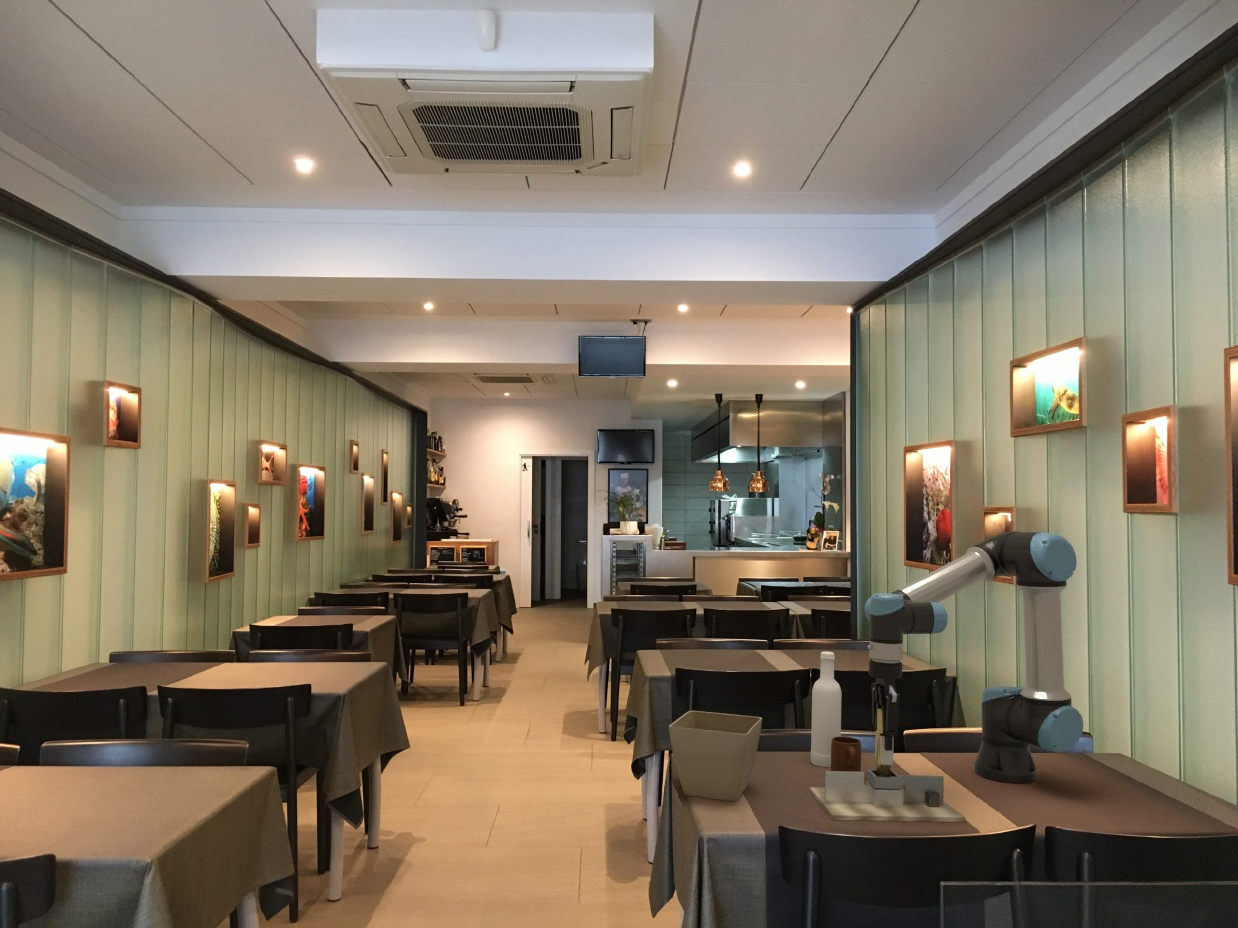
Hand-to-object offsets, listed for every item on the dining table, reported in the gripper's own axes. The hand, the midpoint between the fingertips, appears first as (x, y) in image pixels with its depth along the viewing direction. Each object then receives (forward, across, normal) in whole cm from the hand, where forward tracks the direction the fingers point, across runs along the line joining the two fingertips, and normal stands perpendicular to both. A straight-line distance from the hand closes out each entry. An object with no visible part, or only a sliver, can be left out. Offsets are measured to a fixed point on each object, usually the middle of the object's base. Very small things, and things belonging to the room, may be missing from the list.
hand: (884, 761), depth 211 cm
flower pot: (+11, -10, -38) cm, 41 cm away
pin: (+4, 0, 0) cm, 4 cm away
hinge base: (+10, 0, -1) cm, 10 cm away
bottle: (+11, -36, -4) cm, 38 cm away
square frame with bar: (+9, 0, +5) cm, 11 cm away
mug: (+11, -22, -2) cm, 25 cm away
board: (+11, -1, +1) cm, 11 cm away
